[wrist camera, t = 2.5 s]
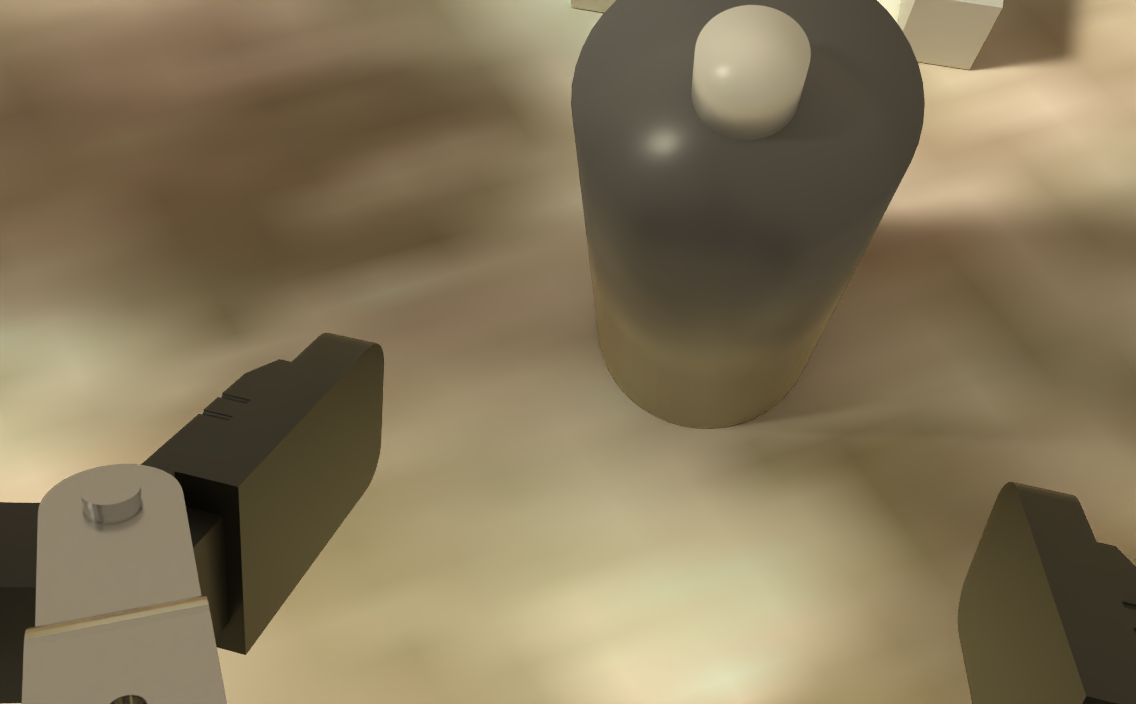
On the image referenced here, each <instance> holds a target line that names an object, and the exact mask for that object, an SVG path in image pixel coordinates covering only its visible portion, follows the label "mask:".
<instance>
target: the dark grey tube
mask: <svg viewBox="0 0 1136 704" xmlns="http://www.w3.org/2000/svg"><path fill="white" fill-rule="evenodd" d="M924 104H925V102H924V91H923V82H922V78H921V73H920V69H919V65H918V62H917V60H916V57H915V55H914V52H913V50H912V47H911V45H910V43H909V41H908V40H907V38H906V36H905V35H904V33H903V31H902V29H901V28H900V26H899V25H898V24H897V23H896V21H895V20H894V19H893V17H892V16H891V15H890V14H889V12H888V11H887V10H886V9H885V8H884V7H883V6H882V5H881V4H880V3H879V2H878V1H877V0H616V1H615V2H614V3H613V4H612V5H611V6H610V7H609V8H608V9H607V11H606V12H605V13H604V14H603V15H602V16H601V18H600V19H599V21H598V22H597V23H596V25H595V26H594V27H593V29H592V30H591V32H590V34H589V36H588V38H587V40H586V42H585V44H584V45H583V47H582V50H581V53H580V56H579V59H578V61H577V64H576V68H575V73H574V78H573V83H572V99H571V106H572V116H573V125H574V133H575V142H576V150H577V158H578V167H579V175H580V184H581V192H582V200H583V209H584V217H585V226H586V234H587V242H588V251H589V259H590V267H591V276H592V284H593V293H594V301H595V309H596V318H597V326H598V335H599V343H600V347H601V351H602V355H603V358H604V361H605V363H606V366H607V368H608V370H609V372H610V373H611V375H612V377H613V379H614V380H615V382H616V383H617V384H618V386H619V387H620V388H621V390H622V391H623V392H624V393H625V394H626V395H627V396H628V397H629V398H630V399H631V400H632V401H633V402H634V403H636V404H637V405H638V406H640V407H641V408H642V409H644V410H645V411H647V412H649V413H650V414H652V415H654V416H656V417H658V418H660V419H663V420H665V421H667V422H670V423H674V424H677V425H681V426H686V427H692V428H710V429H712V428H722V427H728V426H732V425H737V424H740V423H743V422H746V421H748V420H751V419H754V418H755V417H757V416H759V415H761V414H763V413H765V412H766V411H768V410H769V409H770V408H772V407H773V406H775V405H776V404H777V403H778V402H779V401H780V400H781V399H782V398H784V397H785V396H786V395H787V393H788V392H789V391H790V390H791V388H792V387H793V386H794V385H795V383H796V382H797V380H798V378H799V376H800V375H801V373H802V371H803V369H804V367H805V365H806V363H807V362H808V360H809V358H810V356H811V354H812V352H813V350H814V348H815V346H816V344H817V342H818V340H819V338H820V336H821V335H822V333H823V331H824V329H825V327H826V325H827V323H828V321H829V319H830V317H831V315H832V313H833V311H834V309H835V308H836V306H837V304H838V302H839V300H840V298H841V296H842V294H843V292H844V290H845V288H846V286H847V284H848V282H849V281H850V279H851V277H852V275H853V273H854V271H855V269H856V267H857V265H858V263H859V261H860V259H861V257H862V255H863V254H864V252H865V250H866V248H867V246H868V244H869V242H870V240H871V238H872V236H873V234H874V232H875V230H876V228H877V227H878V225H879V223H880V221H881V219H882V217H883V215H884V213H885V211H886V209H887V207H888V205H889V203H890V201H891V199H892V198H893V196H894V194H895V192H896V190H897V188H898V186H899V184H900V182H901V180H902V178H903V176H904V174H905V172H906V171H907V169H908V167H909V165H910V163H911V161H912V158H913V156H914V153H915V151H916V148H917V146H918V143H919V139H920V134H921V130H922V126H923V118H924Z"/></svg>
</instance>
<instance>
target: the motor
mask: <svg viewBox="0 0 1136 704" xmlns="http://www.w3.org/2000/svg"><path fill="white" fill-rule="evenodd" d="M615 1H616V0H571V6H572V8H579V9H585V10H591V11H598V12H604V13H605V12H606V11H607V9H608V8H609V7H610V6H611V5H612V4H613V3H614V2H615ZM1002 8H1003V0H902V1H901V7H900V14H899V20H898V25H899V26H900V28H901V29H902V31H903V33H904V35H905V36H906V38H907V40H908V41H909V43H910V45H911V47H912V50H913V52H914V55H915V57H916V60H917V62H923V63H929V64H936V65H942V66H948V67H955V68H961V69H967V70H970V68H971V66H972V64H973V62H974V60H975V58H976V57H977V55H978V53H979V51H980V49H981V47H982V45H983V43H984V42H985V40H986V38H987V36H988V34H989V32H990V30H991V29H992V27H993V25H994V23H995V21H996V19H997V17H998V15H999V14H1000V12H1001V10H1002Z"/></svg>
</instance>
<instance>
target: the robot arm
mask: <svg viewBox="0 0 1136 704" xmlns="http://www.w3.org/2000/svg"><path fill="white" fill-rule="evenodd" d="M383 374H384V356H383V350H382V348H381V346H380V345H379V344H377V343H372V342H367V341H363V340H358V339H354V338H349V337H344V336H340V335H335V334H330V333H324V334H322V335H320V336H319V337H318V338H317V339H316V340H315V341H314V342H313V343H312V344H310V345H309V346H308V347H307V348H306V349H305V350H304V351H303V352H302V353H301V354H300V355H299V356H298V357H297V358H295V359H294V360H293V361H292V362H289V361H284V360H280V359H279V360H277V361H274V362H272V363H269V364H267V365H265V366H262V367H260V368H257V369H255V370H253V371H250V372H248V373H245V374H244V375H243V376H242V377H241V378H239V379H238V380H237V381H236V382H235V383H234V384H233V385H231V386H230V387H229V388H228V389H227V390H226V391H225V392H223V393H222V397H221V398H219V397H218V398H217V399H215V400H214V401H213V402H212V403H211V404H210V405H209V406H207V407H206V408H205V409H204V412H203V414H198V415H197V416H196V417H195V418H194V419H193V420H191V421H190V422H189V423H188V424H187V425H186V426H185V427H183V428H182V429H181V430H180V431H179V432H178V433H177V434H175V435H174V436H173V437H172V438H171V439H170V440H169V441H167V442H166V443H165V444H164V445H163V446H162V447H161V448H159V449H158V450H157V451H156V452H155V453H154V454H153V455H151V456H150V457H149V458H148V459H147V460H146V461H145V462H143V463H142V464H141V465H137V464H117V465H107V466H102V467H97V468H93V469H89V470H86V471H83V472H80V473H77V474H75V475H73V476H71V477H69V478H67V479H65V480H63V481H61V482H60V483H58V484H57V485H55V486H54V487H53V488H52V489H51V490H50V491H48V493H47V494H46V495H45V496H44V497H43V499H42V501H41V503H5V502H0V703H22V704H227V701H226V696H225V690H224V685H223V679H222V674H221V669H220V663H219V658H218V652H217V647H218V648H222V649H226V650H229V651H233V652H237V653H240V654H244V655H246V654H247V653H248V651H249V650H250V648H251V647H252V646H253V644H254V643H255V642H256V640H257V639H258V637H259V636H260V635H261V633H262V632H263V631H264V629H265V628H266V626H267V625H268V624H269V622H270V621H271V620H272V618H273V617H274V615H275V614H276V613H277V611H278V610H279V609H280V607H281V606H282V605H283V603H284V602H285V600H286V599H287V598H288V596H289V595H290V594H291V592H292V591H293V589H294V588H295V587H296V585H297V584H298V583H299V581H300V580H301V578H302V577H303V576H304V574H305V573H306V572H307V570H308V569H309V567H310V566H311V565H312V563H313V562H314V561H315V559H316V558H317V557H318V555H319V554H320V552H321V551H322V550H323V548H324V547H325V546H326V544H327V543H328V541H329V540H330V539H331V537H332V536H333V535H334V533H335V532H336V530H337V529H338V528H339V526H340V525H341V524H342V522H343V521H344V519H345V518H346V517H347V515H348V514H349V513H350V511H351V510H352V509H353V507H354V506H355V504H356V503H357V502H358V500H359V499H360V498H361V496H362V495H363V493H364V492H365V491H366V489H367V488H368V486H369V484H370V482H371V480H372V478H373V475H374V473H375V470H376V467H377V463H378V459H379V454H380V448H381V429H382V401H383ZM958 630H959V637H960V642H961V647H962V652H963V657H964V663H965V668H966V673H967V678H968V683H969V688H970V694H971V699H972V704H1136V567H1135V566H1134V565H1133V564H1132V563H1131V562H1130V561H1129V560H1128V559H1127V558H1126V557H1125V556H1124V555H1123V554H1122V552H1121V551H1120V550H1119V549H1118V548H1117V547H1116V546H1112V545H1107V544H1103V543H1098V542H1096V540H1095V537H1094V535H1093V533H1092V530H1091V528H1090V526H1089V523H1088V521H1087V519H1086V516H1085V514H1084V512H1083V509H1082V507H1081V504H1080V502H1079V500H1078V499H1077V498H1076V497H1075V496H1073V495H1069V494H1065V493H1060V492H1055V491H1051V490H1046V489H1042V488H1037V487H1032V486H1028V485H1023V484H1018V483H1014V482H1008V483H1007V484H1005V485H1004V487H1003V488H1002V489H1001V491H1000V493H999V495H998V497H997V499H996V502H995V504H994V507H993V509H992V512H991V514H990V517H989V520H988V522H987V525H986V527H985V530H984V532H983V535H982V537H981V540H980V542H979V545H978V548H977V550H976V553H975V555H974V558H973V560H972V563H971V565H970V568H969V571H968V573H967V576H966V578H965V581H964V584H963V588H962V592H961V596H960V602H959V610H958Z"/></svg>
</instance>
